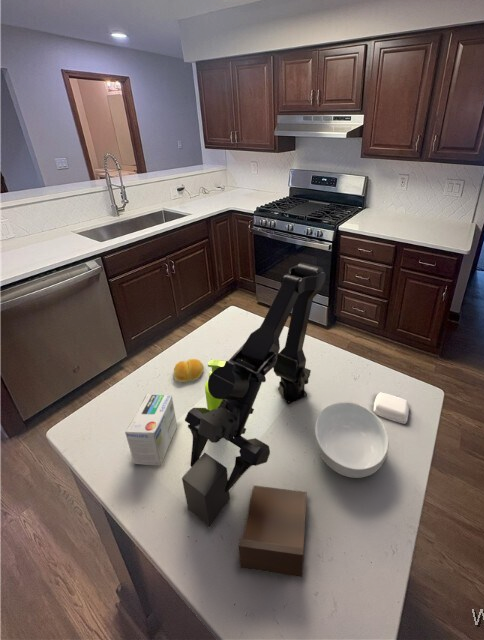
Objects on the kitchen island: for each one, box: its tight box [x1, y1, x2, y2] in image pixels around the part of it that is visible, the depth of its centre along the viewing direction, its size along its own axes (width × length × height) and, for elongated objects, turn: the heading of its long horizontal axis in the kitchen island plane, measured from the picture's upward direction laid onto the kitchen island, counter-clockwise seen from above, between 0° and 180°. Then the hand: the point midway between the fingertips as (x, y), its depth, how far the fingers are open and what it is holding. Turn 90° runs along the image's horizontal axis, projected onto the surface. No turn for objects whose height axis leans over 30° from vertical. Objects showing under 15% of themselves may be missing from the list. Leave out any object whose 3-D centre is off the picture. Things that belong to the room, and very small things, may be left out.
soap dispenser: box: [204, 359, 227, 411], centre depth 78 cm, size 6×7×20 cm
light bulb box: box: [124, 394, 178, 466], centre depth 74 cm, size 11×7×11 cm, turn 178°
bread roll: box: [173, 358, 205, 383], centre depth 97 cm, size 8×9×4 cm
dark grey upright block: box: [181, 452, 231, 528], centre depth 62 cm, size 6×6×10 cm
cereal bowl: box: [314, 401, 390, 479], centre depth 73 cm, size 17×17×7 cm
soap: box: [373, 391, 410, 425], centre depth 85 cm, size 9×7×3 cm
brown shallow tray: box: [237, 485, 307, 578], centre depth 59 cm, size 12×11×7 cm
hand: (208, 478), depth 62 cm, fingers open, 9 cm apart
